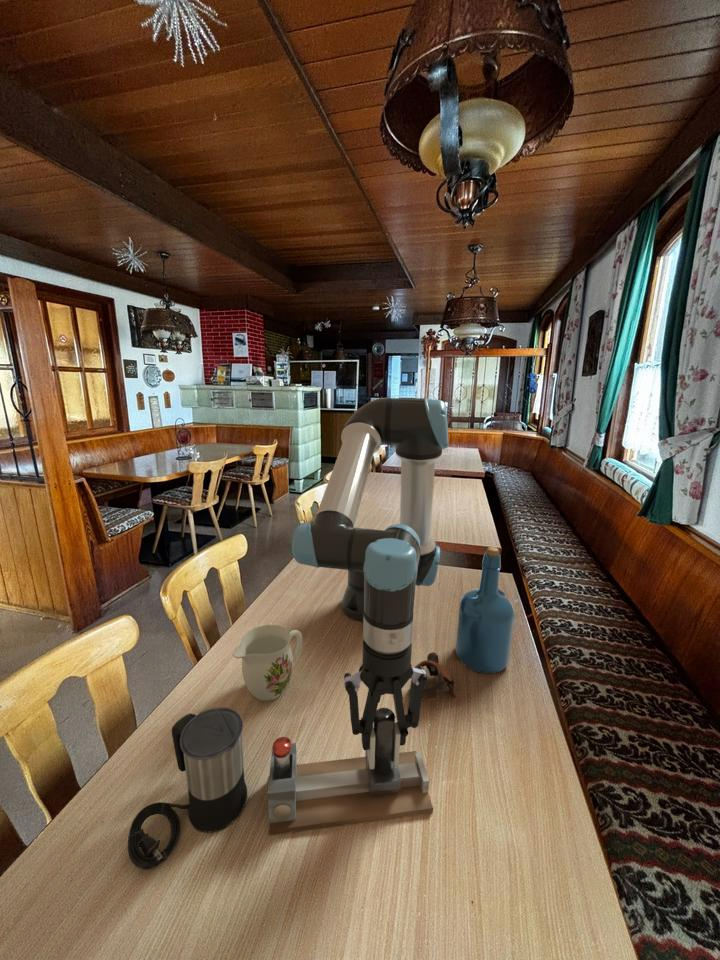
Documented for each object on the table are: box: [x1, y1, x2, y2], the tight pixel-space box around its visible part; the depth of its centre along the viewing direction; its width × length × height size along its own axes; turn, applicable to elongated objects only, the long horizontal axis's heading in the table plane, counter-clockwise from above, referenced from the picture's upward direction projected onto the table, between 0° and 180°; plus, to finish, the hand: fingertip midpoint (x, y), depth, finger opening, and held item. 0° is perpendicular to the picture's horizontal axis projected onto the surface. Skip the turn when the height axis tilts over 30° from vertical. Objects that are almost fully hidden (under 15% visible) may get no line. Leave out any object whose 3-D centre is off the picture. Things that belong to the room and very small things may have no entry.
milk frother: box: [127, 706, 248, 870], centre depth 59 cm, size 14×16×15 cm
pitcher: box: [232, 624, 303, 702], centre depth 86 cm, size 11×18×14 cm, turn 141°
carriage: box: [364, 707, 401, 797], centre depth 64 cm, size 6×5×14 cm
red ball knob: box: [272, 736, 292, 776], centre depth 62 cm, size 3×3×5 cm
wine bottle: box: [455, 546, 516, 675], centre depth 94 cm, size 14×13×30 cm
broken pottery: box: [410, 651, 457, 702], centre depth 87 cm, size 12×10×8 cm
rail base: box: [267, 742, 434, 836], centre depth 65 cm, size 10×26×7 cm, turn 98°
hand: (382, 759), depth 65 cm, fingers closed on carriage, 3 cm apart
